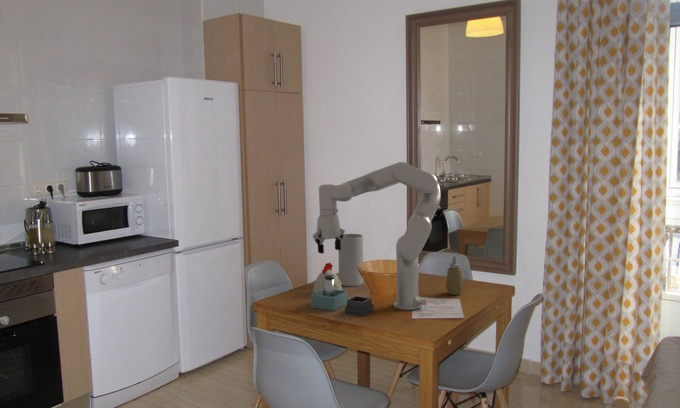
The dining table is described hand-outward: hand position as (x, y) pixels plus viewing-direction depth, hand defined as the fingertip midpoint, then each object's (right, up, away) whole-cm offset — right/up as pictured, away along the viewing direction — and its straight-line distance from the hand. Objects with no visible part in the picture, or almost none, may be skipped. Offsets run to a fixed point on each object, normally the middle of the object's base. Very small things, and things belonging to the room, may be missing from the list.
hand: (329, 251), depth 246 cm
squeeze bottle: (+59, -22, +20) cm, 66 cm away
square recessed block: (+13, -25, -7) cm, 29 cm away
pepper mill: (0, -24, +3) cm, 24 cm away
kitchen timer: (-1, -23, +23) cm, 32 cm away
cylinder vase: (+10, -20, +41) cm, 47 cm away
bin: (0, -24, +3) cm, 25 cm away
